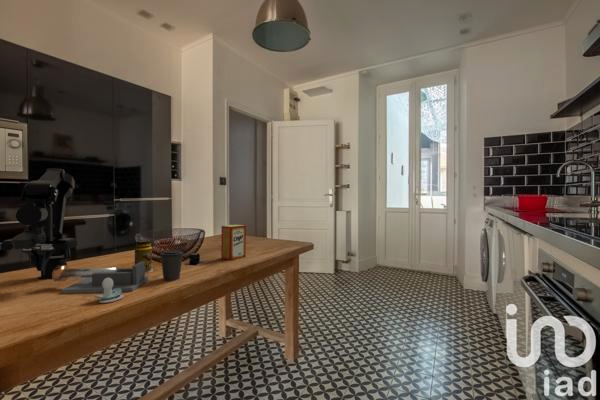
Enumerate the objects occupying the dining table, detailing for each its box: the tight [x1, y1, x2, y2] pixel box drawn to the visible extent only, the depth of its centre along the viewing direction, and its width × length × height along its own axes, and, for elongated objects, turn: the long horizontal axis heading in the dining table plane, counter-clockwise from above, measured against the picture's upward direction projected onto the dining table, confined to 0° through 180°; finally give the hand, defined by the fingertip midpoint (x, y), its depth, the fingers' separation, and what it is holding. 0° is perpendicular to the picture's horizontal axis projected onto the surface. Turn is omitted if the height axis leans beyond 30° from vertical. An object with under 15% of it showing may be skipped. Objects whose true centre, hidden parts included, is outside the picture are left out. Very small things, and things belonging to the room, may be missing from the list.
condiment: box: [134, 239, 154, 274], centre depth 115 cm, size 7×8×12 cm
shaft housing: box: [61, 261, 149, 295], centre depth 96 cm, size 20×13×7 cm, turn 98°
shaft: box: [51, 265, 119, 282], centre depth 95 cm, size 18×5×5 cm, turn 98°
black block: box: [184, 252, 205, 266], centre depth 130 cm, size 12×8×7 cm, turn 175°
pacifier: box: [92, 278, 125, 304], centre depth 84 cm, size 7×6×6 cm
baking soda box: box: [220, 224, 247, 261], centre depth 142 cm, size 10×6×16 cm
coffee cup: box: [159, 249, 185, 282], centre depth 105 cm, size 8×8×10 cm
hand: (40, 270), depth 93 cm, fingers closed
